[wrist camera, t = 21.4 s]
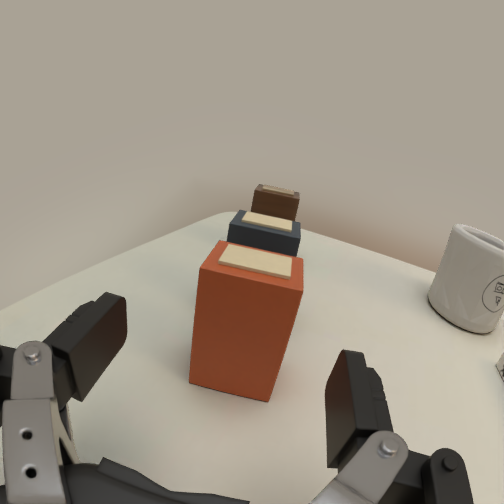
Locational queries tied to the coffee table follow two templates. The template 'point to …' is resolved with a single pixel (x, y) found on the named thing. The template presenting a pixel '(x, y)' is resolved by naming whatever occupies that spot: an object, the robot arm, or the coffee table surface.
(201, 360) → the orange box with label
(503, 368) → the book
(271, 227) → the navy labelled block
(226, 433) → the coffee table surface
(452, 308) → the mug
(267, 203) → the brown post
